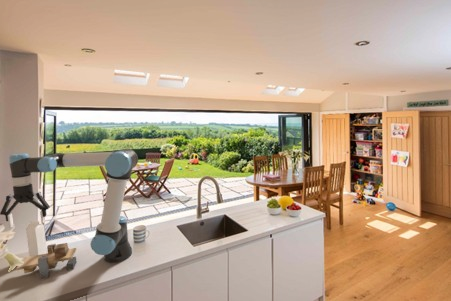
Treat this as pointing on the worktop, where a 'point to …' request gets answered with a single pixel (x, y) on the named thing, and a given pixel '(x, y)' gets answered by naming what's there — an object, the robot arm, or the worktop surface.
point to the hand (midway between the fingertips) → (27, 224)
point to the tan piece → (32, 261)
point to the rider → (61, 250)
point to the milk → (36, 239)
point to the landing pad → (71, 263)
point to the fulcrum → (44, 265)
